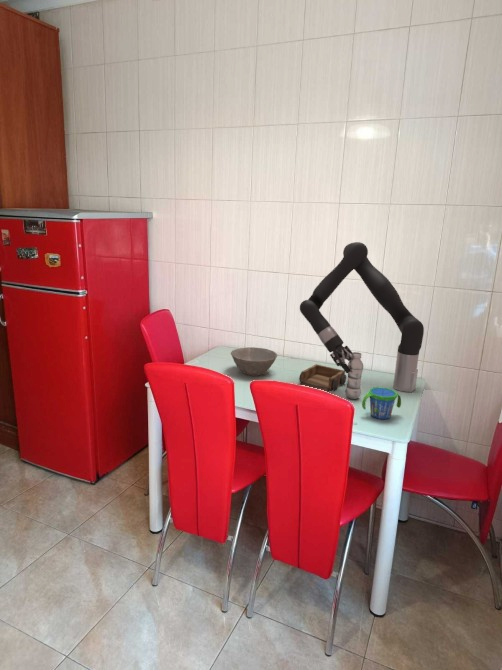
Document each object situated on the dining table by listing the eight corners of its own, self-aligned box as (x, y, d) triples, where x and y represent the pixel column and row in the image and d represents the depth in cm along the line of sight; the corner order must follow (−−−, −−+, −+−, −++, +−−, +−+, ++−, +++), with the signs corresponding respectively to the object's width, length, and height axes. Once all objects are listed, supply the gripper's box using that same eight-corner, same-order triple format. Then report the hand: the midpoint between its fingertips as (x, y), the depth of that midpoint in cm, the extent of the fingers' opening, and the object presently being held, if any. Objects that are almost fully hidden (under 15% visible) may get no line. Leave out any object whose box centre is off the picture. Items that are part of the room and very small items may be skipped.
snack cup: (365, 421, 176) (368, 396, 173) (356, 410, 186) (359, 386, 184) (404, 421, 178) (408, 396, 175) (394, 410, 188) (397, 387, 185)
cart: (327, 395, 201) (329, 382, 199) (293, 386, 210) (294, 373, 208) (346, 383, 217) (347, 371, 215) (313, 375, 226) (314, 363, 225)
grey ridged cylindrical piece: (360, 401, 196) (365, 356, 191) (344, 399, 197) (348, 354, 192) (360, 396, 202) (365, 352, 197) (344, 394, 203) (348, 350, 198)
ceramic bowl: (244, 363, 241) (245, 344, 238) (284, 372, 229) (285, 352, 227) (220, 374, 222) (221, 354, 220) (262, 384, 211) (263, 363, 208)
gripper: (329, 337, 192) (353, 369, 189) (343, 331, 204) (365, 361, 201) (317, 347, 197) (339, 378, 193) (331, 340, 208) (352, 370, 205)
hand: (352, 369), depth 197 cm, fingers open, 8 cm apart
